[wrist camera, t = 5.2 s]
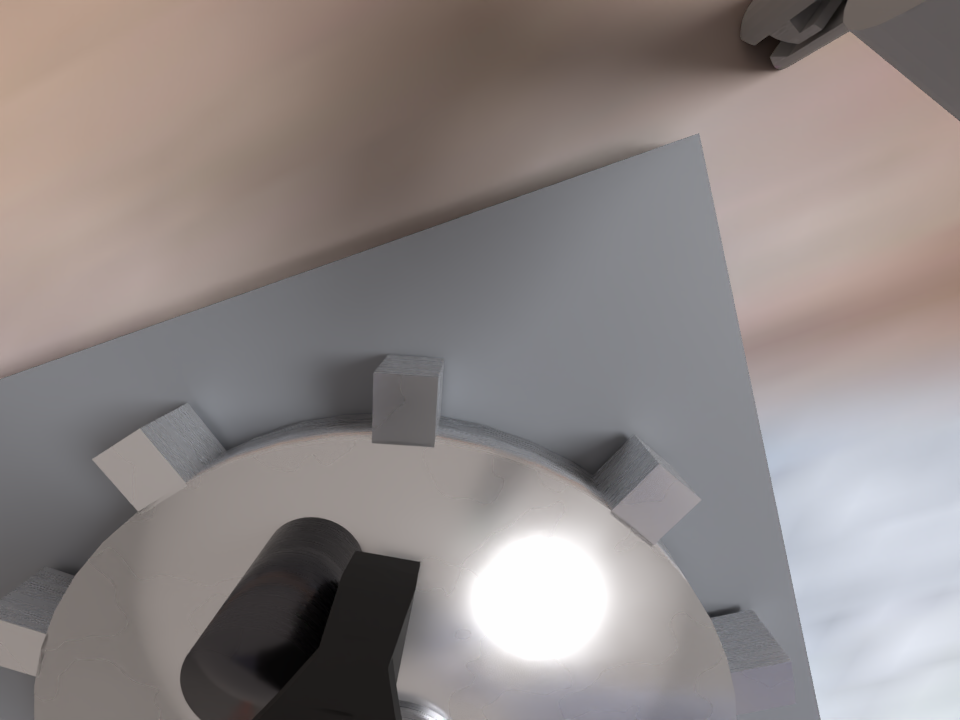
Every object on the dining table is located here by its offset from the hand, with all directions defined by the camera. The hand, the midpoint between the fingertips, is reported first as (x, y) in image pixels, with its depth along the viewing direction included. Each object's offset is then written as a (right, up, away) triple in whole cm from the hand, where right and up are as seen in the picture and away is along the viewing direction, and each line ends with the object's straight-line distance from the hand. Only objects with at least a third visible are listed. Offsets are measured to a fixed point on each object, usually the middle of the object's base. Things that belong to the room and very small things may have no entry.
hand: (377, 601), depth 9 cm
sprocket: (0, -4, +4) cm, 6 cm away
